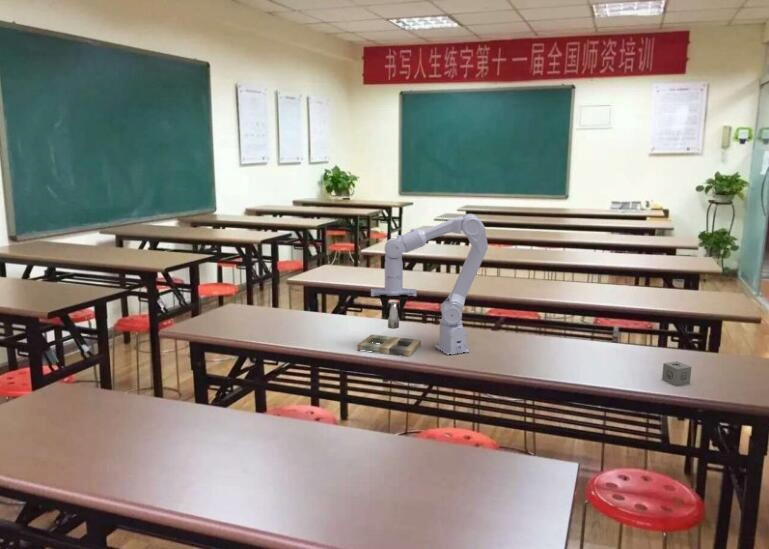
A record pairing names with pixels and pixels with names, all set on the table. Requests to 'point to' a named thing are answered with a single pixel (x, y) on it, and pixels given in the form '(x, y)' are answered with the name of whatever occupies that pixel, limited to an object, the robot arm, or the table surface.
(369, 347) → the tool stand
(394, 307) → the metal cylinder
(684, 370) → the dice cube
